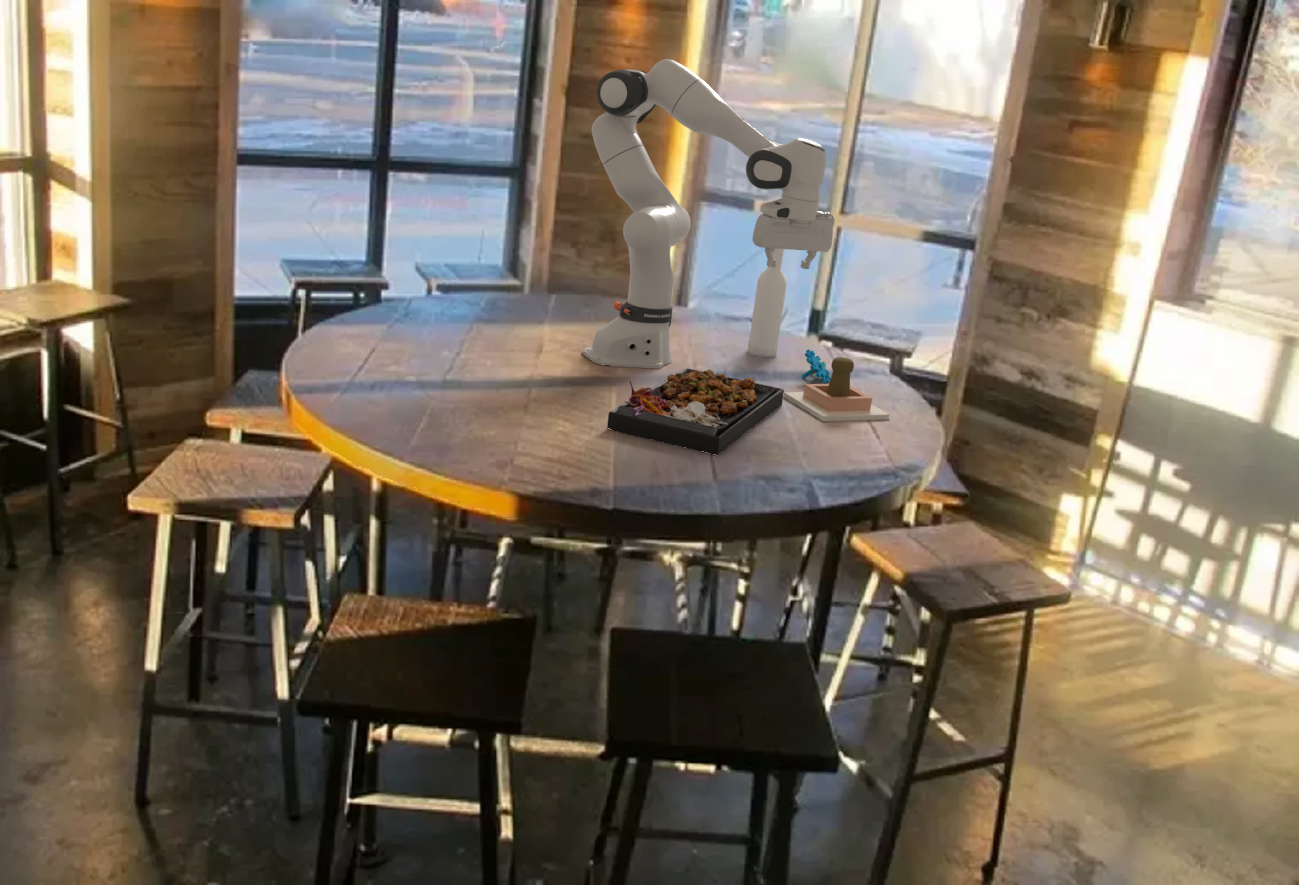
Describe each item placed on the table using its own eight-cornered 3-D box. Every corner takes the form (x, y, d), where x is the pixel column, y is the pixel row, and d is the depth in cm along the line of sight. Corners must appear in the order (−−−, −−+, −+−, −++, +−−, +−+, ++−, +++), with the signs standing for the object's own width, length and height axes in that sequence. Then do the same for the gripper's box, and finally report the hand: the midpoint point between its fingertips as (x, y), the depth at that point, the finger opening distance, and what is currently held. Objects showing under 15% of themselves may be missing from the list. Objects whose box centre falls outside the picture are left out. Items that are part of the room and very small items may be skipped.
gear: (825, 382, 304) (804, 348, 305) (806, 395, 306) (785, 361, 308) (838, 379, 314) (818, 346, 315) (820, 391, 316) (799, 359, 318)
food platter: (716, 458, 247) (723, 410, 244) (606, 432, 255) (611, 384, 252) (781, 407, 287) (787, 364, 284) (684, 385, 295) (689, 344, 292)
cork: (851, 402, 290) (859, 358, 287) (846, 408, 285) (853, 363, 282) (826, 397, 292) (834, 353, 289) (820, 403, 287) (828, 358, 283)
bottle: (743, 353, 329) (758, 242, 320) (752, 347, 336) (767, 239, 327) (771, 359, 327) (788, 247, 317) (780, 353, 334) (796, 244, 324)
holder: (822, 421, 278) (825, 403, 276) (783, 397, 293) (786, 380, 292) (888, 419, 285) (891, 402, 284) (847, 395, 300) (849, 379, 299)
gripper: (828, 210, 296) (818, 266, 301) (754, 204, 287) (744, 262, 292) (842, 215, 291) (831, 272, 295) (767, 209, 282) (757, 268, 287)
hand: (787, 267), depth 294 cm, fingers open, 8 cm apart
